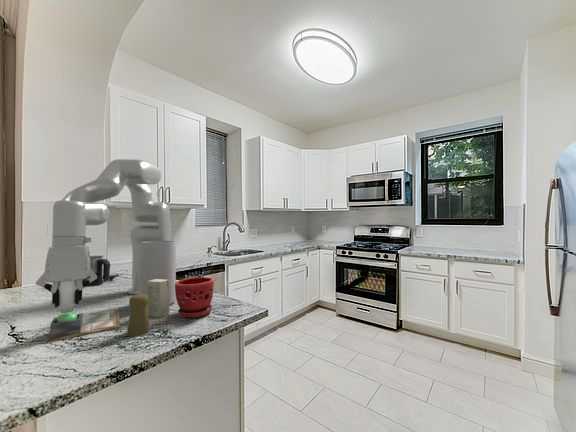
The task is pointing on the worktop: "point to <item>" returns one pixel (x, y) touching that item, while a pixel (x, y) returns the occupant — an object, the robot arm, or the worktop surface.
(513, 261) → the worktop surface
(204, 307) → the plant pot
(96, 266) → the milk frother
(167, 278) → the cylinder vase
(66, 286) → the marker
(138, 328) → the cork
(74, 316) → the button
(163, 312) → the skincare box
